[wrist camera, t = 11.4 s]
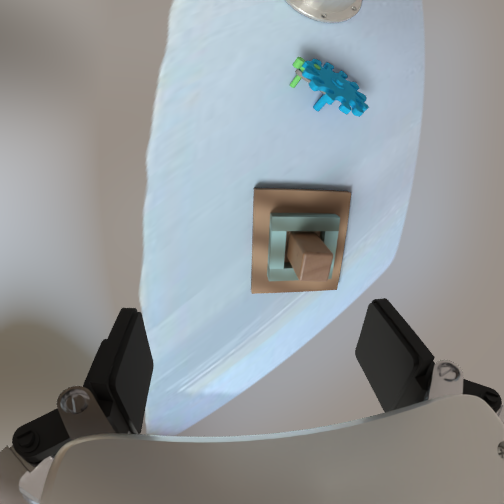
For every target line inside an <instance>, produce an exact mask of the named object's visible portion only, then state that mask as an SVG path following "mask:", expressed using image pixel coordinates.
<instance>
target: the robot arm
mask: <svg viewBox="0 0 504 504" xmlns="http://www.w3.org/2000/svg"><path fill="white" fill-rule="evenodd" d="M286 2H287V3H288V4H289V5H290V6H291V7H292V8H293V9H295V10H296V11H297V12H299V13H300V14H302V15H304V16H306V17H308V18H311V19H313V20H316V21H320V22H326V23H339V22H343V21H346V20H348V19H350V18H352V17H353V16H354V15H356V14H357V12H358V11H359V9H360V7H361V3H362V0H286ZM355 355H356V358H357V360H358V362H359V364H360V366H361V367H362V369H363V371H364V373H365V375H366V377H367V379H368V381H369V383H370V385H371V387H372V388H373V390H374V392H375V394H376V396H377V398H378V400H379V402H380V404H381V406H382V408H383V410H384V411H385V413H382V414H378V415H374V416H370V417H366V418H362V419H358V420H354V421H349V422H344V423H340V424H334V425H330V426H324V427H318V428H312V429H306V430H298V431H290V432H283V433H273V434H262V435H248V436H231V437H230V436H228V437H181V436H180V437H179V436H158V435H142V434H140V433H141V429H142V423H143V417H144V412H145V406H146V401H147V396H148V391H149V386H150V381H151V377H152V372H153V359H152V355H151V351H150V347H149V343H148V339H147V335H146V331H145V326H144V322H143V318H142V314H141V312H137V310H136V308H122V309H121V311H120V313H119V315H118V317H117V319H116V321H115V323H114V326H113V328H112V330H111V332H110V334H109V337H108V339H104V340H103V341H102V343H101V345H100V347H99V349H98V352H97V354H96V356H95V358H94V361H93V363H92V366H91V368H90V370H89V373H88V375H87V378H86V380H85V382H84V385H83V387H82V386H72V387H68V388H67V389H65V390H63V392H62V393H60V395H59V397H58V399H57V409H55V410H53V411H51V412H49V413H48V414H45V415H43V416H41V417H39V418H37V419H35V420H33V421H31V422H29V423H27V424H25V425H23V426H21V427H19V428H18V429H17V430H16V432H15V433H14V435H13V441H12V443H13V445H12V446H11V447H10V448H9V447H8V446H6V447H5V448H4V449H3V450H2V451H1V452H0V504H504V403H503V405H502V402H501V398H500V395H499V394H498V393H497V392H496V391H495V390H494V389H491V388H489V387H486V386H483V385H480V384H477V383H474V382H471V381H468V380H465V379H463V372H462V370H461V368H460V367H459V366H458V365H457V364H456V363H454V362H452V361H449V360H440V361H438V362H437V363H436V364H435V363H434V362H433V360H434V356H433V355H432V353H431V352H430V351H429V350H428V348H427V347H426V346H425V345H424V343H423V342H422V341H421V339H420V338H419V337H418V336H417V335H416V333H415V332H414V331H413V330H412V329H411V327H410V326H409V325H408V323H407V322H406V321H405V320H404V319H403V317H402V316H401V315H400V314H399V313H398V311H397V310H396V309H395V308H394V307H393V306H392V304H391V303H390V302H389V301H388V300H387V299H385V298H384V299H375V300H373V301H372V303H370V304H369V306H368V309H367V313H366V317H365V320H364V324H363V327H362V330H361V334H360V337H359V340H358V344H357V347H356V350H355Z"/></svg>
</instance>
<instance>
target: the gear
mask: <svg viewBox="0 0 504 504" xmlns="http://www.w3.org/2000/svg"><path fill="white" fill-rule="evenodd" d="M303 63H304V64H303ZM321 64H322V63H321V61H319V60H317V59H313V60H312V61H305V60H304V59H303V58H301V57H298V58H297V59H296V60H295V62H294V63H293V66H294V67H295V68H297V70H296V71H295V72H296V74H297V75H296V77H295V78H294V80H293V81H292V82H291V84H290V86H291V87H292V88H294V87H295V86H296V85H297V83H298V82H299V81H300V79H301V78H302V79H304V80H305V81H307V82H308V83H309V86H310V88H311V89H312V90H313V91H321V92H322V93H323V96H322V97H321V98H320V99H319V100H318V101H317V103H316V104H315V105H314V106H313V108H314V109H315V110H316V111H320V109H321V108H322V107H323V106H324V105H325V104H326V103H328V104H329V105H331V104H332V103H333V102H334V101H335V100H338V101H340V102H341V103H342V104H341V105H340V106H339V110H340V111H342V112H343V113H345V114H348V113H349V112H350V111H351V107H352V113H353V114H354V115H355V116H361V115H362V114H363V113H364V111H365V110H367V109H368V108H369V107H368V105H367V104H366V103H364V102H365V101H366V96H365V95H364V94H362V93H360V92H358V91H357V90H358V89H359V86H358V85H357V83H355V82H350V81H347V80H345V79H346V78H347V77H348V76H347V75H346V74H345V73H344V72H343V71H340V72H339V73H335V72H333V71H332V70H333V69H334V66H333V65H331V64H330V63H328V62H326V63H325V65H324V66H323V67H322V66H321ZM350 106H351V107H350Z"/></svg>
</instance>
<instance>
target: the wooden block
mask: <svg viewBox="0 0 504 504" xmlns="http://www.w3.org/2000/svg"><path fill="white" fill-rule="evenodd" d="M286 255H287V257H288V259H289V261H290V263H291V265H292V267H293V269H294V271H295V273H296V275H297V278H298V280H300V281H316V282H326V281H327V280H328V277H329V273H330V269H331V264H332V260H333V253H332V252H331V251H330V250H329V248H328V247H327V246H326V245H325V244H324V242H323V241H322V240H321V239H320V238H319V237H318V236H317V234H316V233H314V232H301V231H291V232H290V234H289V240H288V247H287V253H286Z"/></svg>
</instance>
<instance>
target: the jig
mask: <svg viewBox="0 0 504 504" xmlns="http://www.w3.org/2000/svg"><path fill="white" fill-rule="evenodd" d="M350 199H351V193H350V192H348V191H335V190H314V189H285V188H254V201H253V237H252V273H251V292H252V294H253V293H281V292H303V291H322V290H337V286H338V281H339V275H340V269H341V263H342V257H343V251H344V244H345V237H346V230H347V223H348V215H349V207H350ZM291 231H301V232H314V233H316V234H317V236H318V237H319V238H320V239H321V240H322V241H323V242H324V244H325V245H326V246H327V247H328V248H329V250H330V251H331V252H332V253H333V260H332V264H331V269H330V273H329V277H328V280H327V281H326V282H316V281H300V280H298V278H297V275H296V273H295V271H294V269H293V267H292V265H291V263H290V261H289V259H288V257H287V255H286V253H287V247H288V240H289V234H290V232H291Z"/></svg>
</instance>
